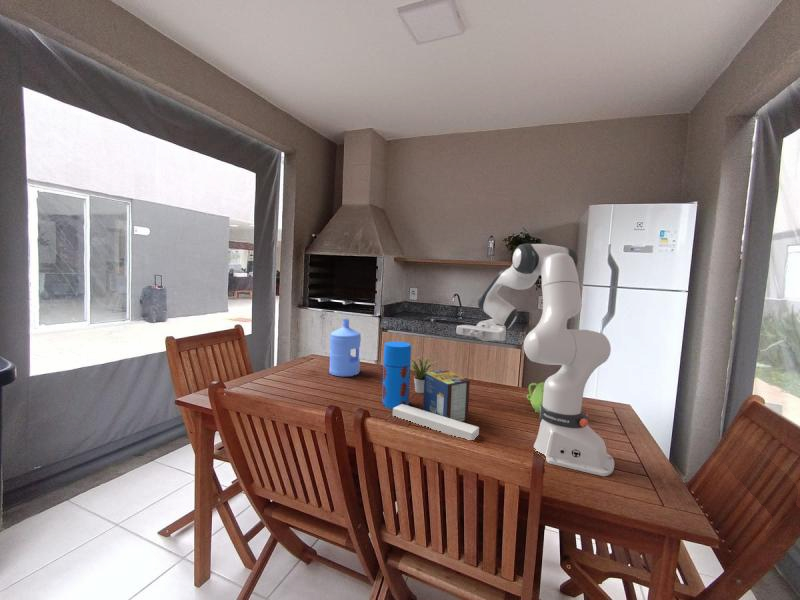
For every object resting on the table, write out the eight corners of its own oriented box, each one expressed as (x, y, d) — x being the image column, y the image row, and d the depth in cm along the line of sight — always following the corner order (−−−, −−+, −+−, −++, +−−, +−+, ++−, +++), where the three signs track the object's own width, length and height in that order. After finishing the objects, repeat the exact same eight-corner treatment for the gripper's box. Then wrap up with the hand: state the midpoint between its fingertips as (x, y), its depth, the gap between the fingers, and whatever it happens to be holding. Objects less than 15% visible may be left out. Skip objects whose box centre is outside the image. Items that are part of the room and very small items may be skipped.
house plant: (438, 386, 174) (439, 353, 172) (440, 397, 160) (442, 360, 158) (408, 385, 174) (409, 351, 173) (408, 395, 160) (409, 359, 159)
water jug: (327, 377, 182) (328, 321, 179) (331, 368, 197) (332, 317, 195) (359, 377, 183) (360, 322, 181) (360, 368, 199) (361, 317, 196)
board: (478, 435, 124) (479, 427, 124) (471, 442, 119) (471, 433, 119) (401, 411, 142) (402, 403, 142) (392, 415, 137) (392, 408, 137)
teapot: (575, 421, 140) (579, 389, 139) (539, 420, 139) (542, 388, 138) (556, 405, 156) (559, 376, 155) (523, 404, 155) (526, 375, 154)
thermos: (377, 401, 151) (380, 342, 149) (400, 398, 156) (403, 340, 154) (389, 411, 142) (391, 348, 140) (413, 407, 147) (416, 346, 144)
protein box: (443, 406, 149) (445, 369, 148) (468, 420, 136) (470, 380, 135) (422, 410, 144) (424, 372, 143) (445, 425, 131) (447, 383, 130)
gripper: (464, 320, 164) (450, 323, 153) (509, 326, 152) (497, 330, 141) (463, 334, 165) (449, 338, 154) (508, 341, 153) (496, 346, 142)
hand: (472, 334), depth 147 cm, fingers closed
